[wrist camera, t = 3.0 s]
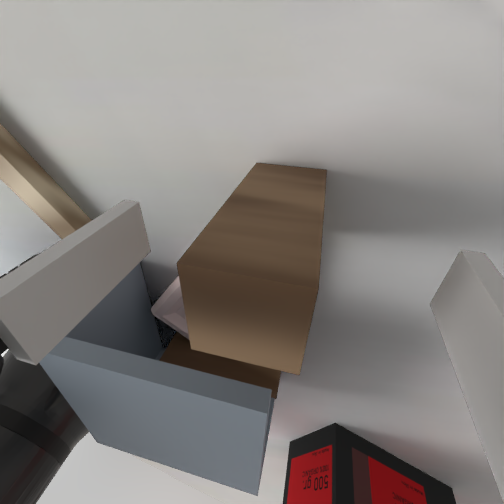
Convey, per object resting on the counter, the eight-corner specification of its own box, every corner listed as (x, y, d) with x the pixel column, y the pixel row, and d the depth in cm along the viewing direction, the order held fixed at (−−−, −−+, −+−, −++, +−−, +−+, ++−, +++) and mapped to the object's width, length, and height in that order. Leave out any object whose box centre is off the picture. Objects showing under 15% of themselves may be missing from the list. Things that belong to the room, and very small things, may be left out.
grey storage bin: (277, 381, 28) (257, 496, 20) (154, 351, 30) (97, 442, 23) (291, 287, 20) (267, 413, 13) (126, 257, 23) (28, 348, 16)
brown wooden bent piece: (292, 358, 25) (272, 495, 17) (180, 332, 27) (116, 444, 19) (326, 169, 15) (318, 288, 7) (145, 151, 17) (-21, 227, 9)
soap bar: (160, 295, 25) (146, 314, 23) (210, 237, 20) (197, 256, 18) (206, 327, 26) (196, 348, 24) (265, 281, 21) (258, 303, 19)
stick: (115, 241, 23) (99, 254, 21) (102, 249, 24) (86, 262, 22) (-101, 8, 16) (-149, 2, 15) (-107, 33, 17) (-152, 29, 16)
